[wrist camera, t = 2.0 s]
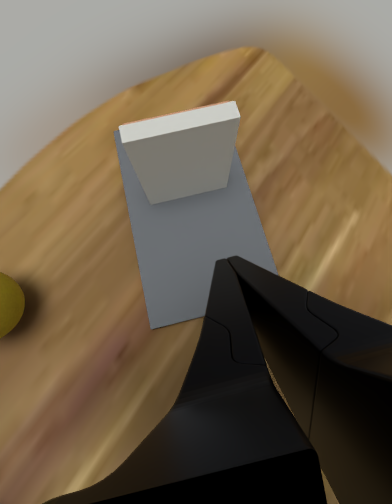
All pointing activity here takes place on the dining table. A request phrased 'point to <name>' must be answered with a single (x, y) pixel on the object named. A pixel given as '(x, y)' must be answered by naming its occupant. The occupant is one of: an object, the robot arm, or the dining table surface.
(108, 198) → the dining table surface
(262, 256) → the mat
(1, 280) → the lemon
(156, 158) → the tile
